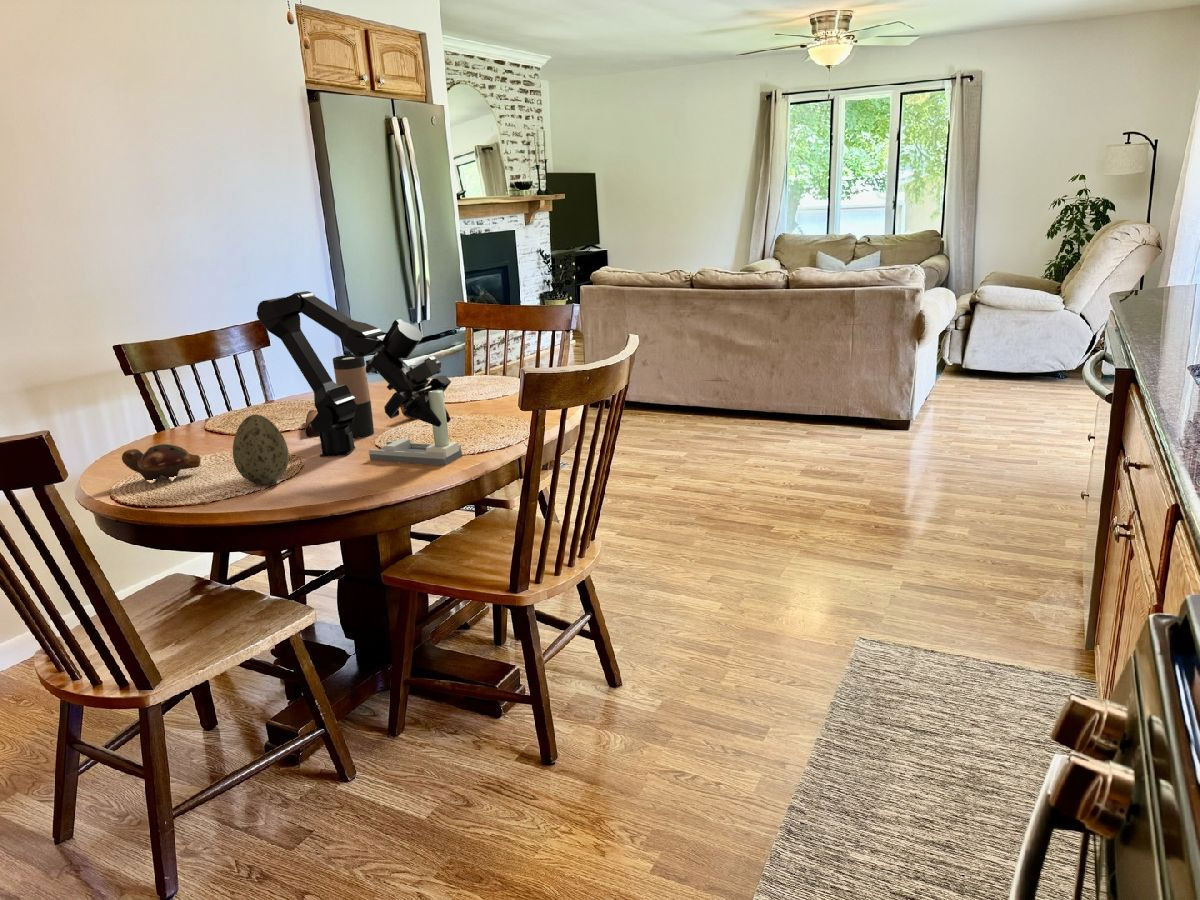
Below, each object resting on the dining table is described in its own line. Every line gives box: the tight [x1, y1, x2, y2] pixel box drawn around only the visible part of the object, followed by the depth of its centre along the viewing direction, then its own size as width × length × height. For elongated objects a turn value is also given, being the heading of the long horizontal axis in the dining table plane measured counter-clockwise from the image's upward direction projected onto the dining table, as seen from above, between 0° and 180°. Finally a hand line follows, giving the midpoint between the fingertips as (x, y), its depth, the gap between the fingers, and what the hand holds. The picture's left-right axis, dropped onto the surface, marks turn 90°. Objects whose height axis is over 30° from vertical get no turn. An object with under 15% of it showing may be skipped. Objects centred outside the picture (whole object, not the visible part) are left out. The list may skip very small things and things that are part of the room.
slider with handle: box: [426, 390, 460, 457], centre depth 181 cm, size 5×5×14 cm
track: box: [368, 438, 463, 467], centre depth 185 cm, size 20×7×4 cm, turn 67°
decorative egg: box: [232, 414, 290, 485], centre depth 173 cm, size 11×11×15 cm
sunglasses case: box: [304, 409, 320, 438], centre depth 219 cm, size 18×7×7 cm
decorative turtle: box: [121, 443, 201, 481], centre depth 182 cm, size 10×15×8 cm, turn 120°
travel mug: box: [332, 354, 375, 439], centre depth 207 cm, size 8×8×20 cm
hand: (444, 423), depth 180 cm, fingers closed on slider with handle, 3 cm apart
